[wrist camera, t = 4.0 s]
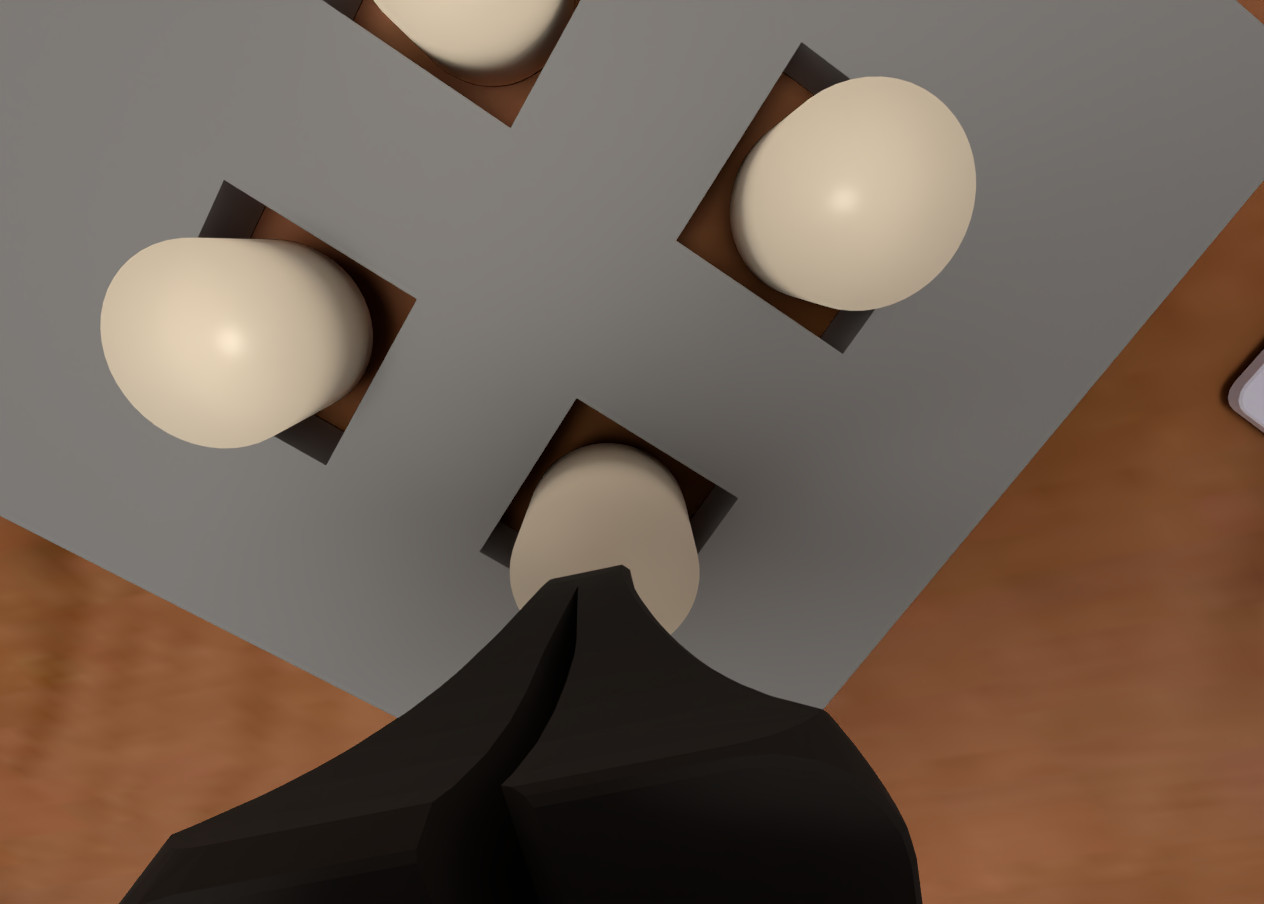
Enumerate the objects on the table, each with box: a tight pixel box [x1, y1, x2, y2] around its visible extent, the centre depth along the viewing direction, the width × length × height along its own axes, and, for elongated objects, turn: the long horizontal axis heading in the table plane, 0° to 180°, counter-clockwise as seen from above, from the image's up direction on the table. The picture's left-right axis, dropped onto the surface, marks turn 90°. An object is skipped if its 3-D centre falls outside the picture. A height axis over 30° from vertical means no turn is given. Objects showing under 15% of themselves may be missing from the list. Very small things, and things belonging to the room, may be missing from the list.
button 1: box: [730, 76, 976, 311], centre depth 13 cm, size 4×4×3 cm
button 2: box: [510, 443, 700, 635], centre depth 15 cm, size 4×4×3 cm
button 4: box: [100, 238, 373, 448], centre depth 13 cm, size 4×4×3 cm
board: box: [0, 0, 1264, 718], centre depth 15 cm, size 22×22×2 cm
